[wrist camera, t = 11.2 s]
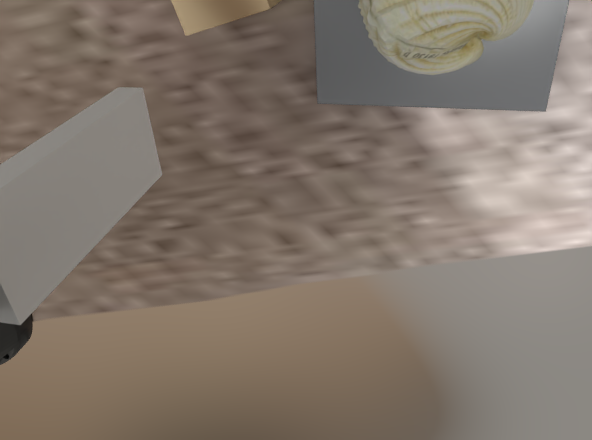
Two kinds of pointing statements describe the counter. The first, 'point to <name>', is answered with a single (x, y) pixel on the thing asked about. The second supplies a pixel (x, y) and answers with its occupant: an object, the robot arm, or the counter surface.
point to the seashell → (439, 30)
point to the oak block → (216, 12)
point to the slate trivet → (441, 87)
